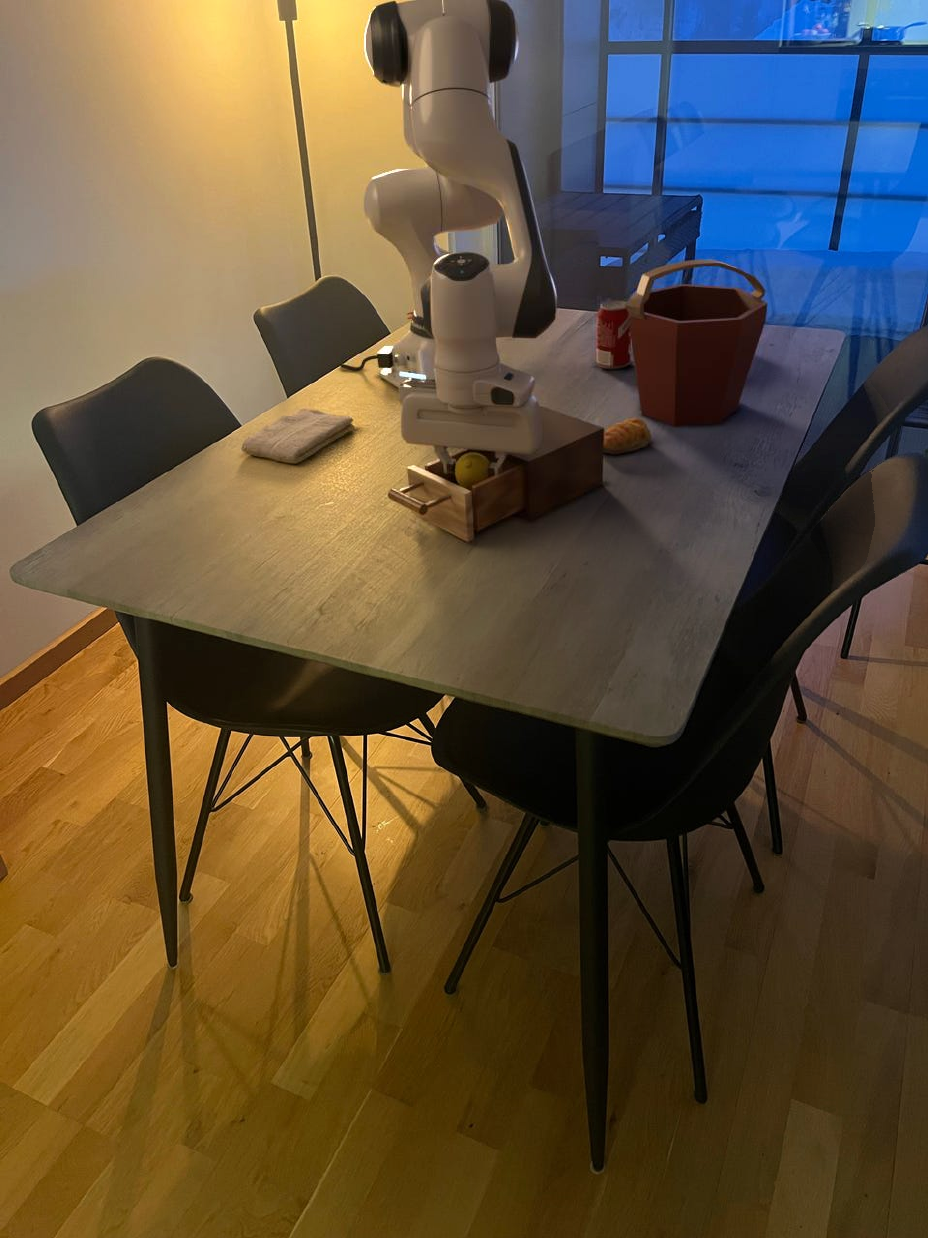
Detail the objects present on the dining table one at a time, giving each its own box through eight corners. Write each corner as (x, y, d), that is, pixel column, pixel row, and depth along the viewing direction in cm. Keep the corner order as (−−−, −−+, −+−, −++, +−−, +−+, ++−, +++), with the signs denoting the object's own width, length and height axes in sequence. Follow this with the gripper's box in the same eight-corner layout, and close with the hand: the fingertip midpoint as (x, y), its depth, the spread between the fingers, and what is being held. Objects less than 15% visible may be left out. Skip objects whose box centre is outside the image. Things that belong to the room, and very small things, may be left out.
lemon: (504, 468, 139) (491, 448, 132) (493, 503, 139) (479, 485, 131) (469, 461, 141) (455, 441, 134) (459, 495, 140) (443, 477, 133)
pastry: (615, 461, 152) (616, 438, 150) (585, 449, 156) (585, 427, 154) (654, 443, 156) (655, 421, 154) (624, 432, 161) (625, 411, 159)
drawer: (436, 557, 128) (431, 509, 124) (380, 527, 136) (374, 480, 132) (541, 505, 139) (541, 459, 134) (484, 480, 147) (482, 436, 142)
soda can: (608, 373, 185) (610, 311, 178) (589, 364, 190) (590, 303, 183) (636, 366, 187) (639, 305, 180) (617, 357, 192) (619, 297, 185)
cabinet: (529, 520, 137) (528, 461, 132) (467, 491, 146) (463, 435, 141) (602, 484, 145) (604, 427, 140) (539, 458, 154) (538, 404, 149)
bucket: (625, 434, 160) (632, 284, 146) (608, 387, 178) (612, 250, 164) (770, 426, 160) (791, 274, 145) (738, 380, 178) (753, 241, 164)
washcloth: (358, 428, 169) (356, 412, 167) (296, 468, 156) (293, 451, 155) (305, 418, 174) (302, 402, 173) (241, 457, 162) (238, 440, 160)
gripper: (388, 385, 128) (398, 477, 136) (533, 395, 122) (534, 491, 130) (405, 369, 133) (414, 459, 141) (545, 378, 127) (546, 471, 135)
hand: (473, 474), depth 135 cm, fingers closed on lemon, 5 cm apart
